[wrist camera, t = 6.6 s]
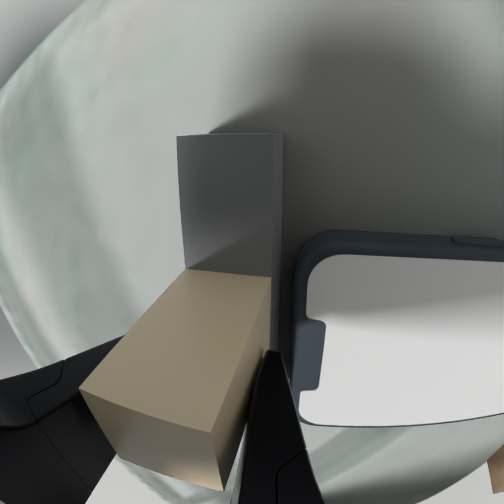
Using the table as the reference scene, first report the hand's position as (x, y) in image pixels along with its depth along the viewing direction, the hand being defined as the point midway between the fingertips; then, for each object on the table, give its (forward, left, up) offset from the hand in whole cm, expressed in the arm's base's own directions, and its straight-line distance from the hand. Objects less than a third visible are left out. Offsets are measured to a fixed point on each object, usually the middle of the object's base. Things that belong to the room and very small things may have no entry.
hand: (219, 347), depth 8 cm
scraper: (+1, 0, -3) cm, 3 cm away
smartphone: (0, -10, -4) cm, 11 cm away
